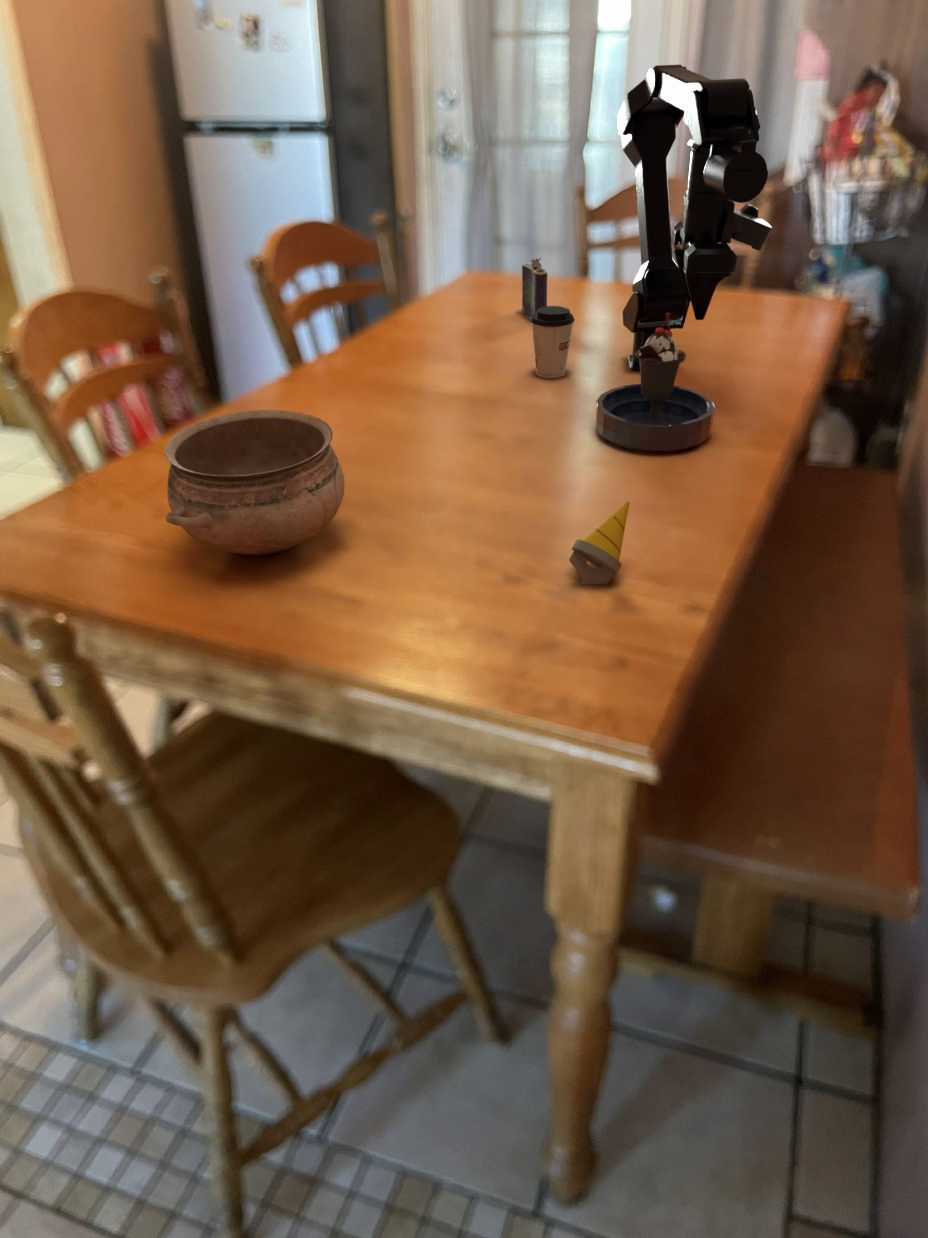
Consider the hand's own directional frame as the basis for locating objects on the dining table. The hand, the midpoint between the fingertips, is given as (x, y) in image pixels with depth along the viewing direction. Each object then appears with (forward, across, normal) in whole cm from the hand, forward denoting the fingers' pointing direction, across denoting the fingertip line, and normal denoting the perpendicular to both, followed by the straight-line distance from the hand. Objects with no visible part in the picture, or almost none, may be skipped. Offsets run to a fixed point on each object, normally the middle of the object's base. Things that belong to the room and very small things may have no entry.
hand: (695, 310), depth 129 cm
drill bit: (+13, -50, +15) cm, 54 cm away
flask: (+13, +42, +23) cm, 50 cm away
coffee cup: (+13, +11, +20) cm, 26 cm away
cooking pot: (+13, -45, +52) cm, 70 cm away
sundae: (+12, -13, +6) cm, 19 cm away
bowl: (+13, -13, +6) cm, 19 cm away
